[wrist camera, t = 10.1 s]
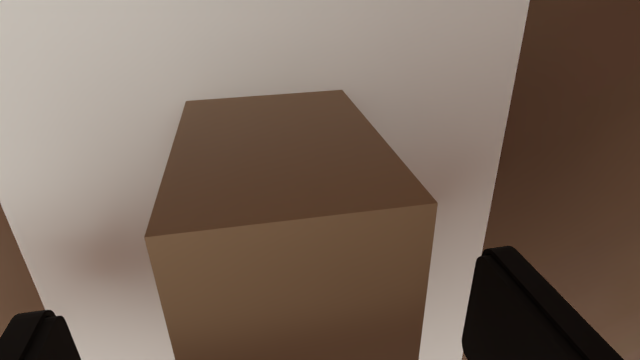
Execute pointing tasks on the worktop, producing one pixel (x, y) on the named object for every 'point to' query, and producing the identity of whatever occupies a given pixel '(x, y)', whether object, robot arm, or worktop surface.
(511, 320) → the robot arm
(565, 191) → the worktop surface
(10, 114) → the lid
